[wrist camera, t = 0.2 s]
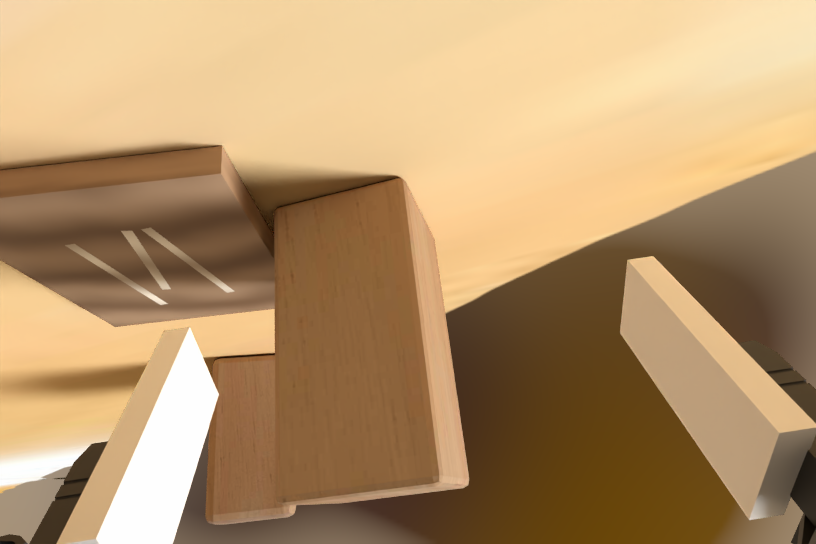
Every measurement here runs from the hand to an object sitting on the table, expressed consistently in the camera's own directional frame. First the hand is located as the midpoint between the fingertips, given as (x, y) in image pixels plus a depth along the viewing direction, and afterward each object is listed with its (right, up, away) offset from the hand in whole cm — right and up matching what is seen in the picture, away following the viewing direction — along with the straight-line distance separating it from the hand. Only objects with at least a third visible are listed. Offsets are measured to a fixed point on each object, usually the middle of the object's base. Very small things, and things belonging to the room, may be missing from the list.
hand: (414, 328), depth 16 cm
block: (-22, -11, +58) cm, 63 cm away
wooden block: (-4, +6, +26) cm, 27 cm away
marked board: (-20, +4, +26) cm, 33 cm away
